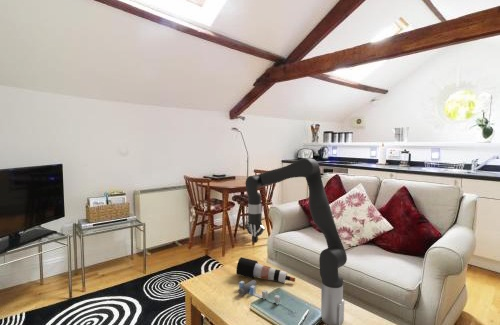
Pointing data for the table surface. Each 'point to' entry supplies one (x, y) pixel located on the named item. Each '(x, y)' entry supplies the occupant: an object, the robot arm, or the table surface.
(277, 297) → the blue grey peg rack
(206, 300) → the table surface
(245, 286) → the gray elongated ellipsoid
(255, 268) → the cable
